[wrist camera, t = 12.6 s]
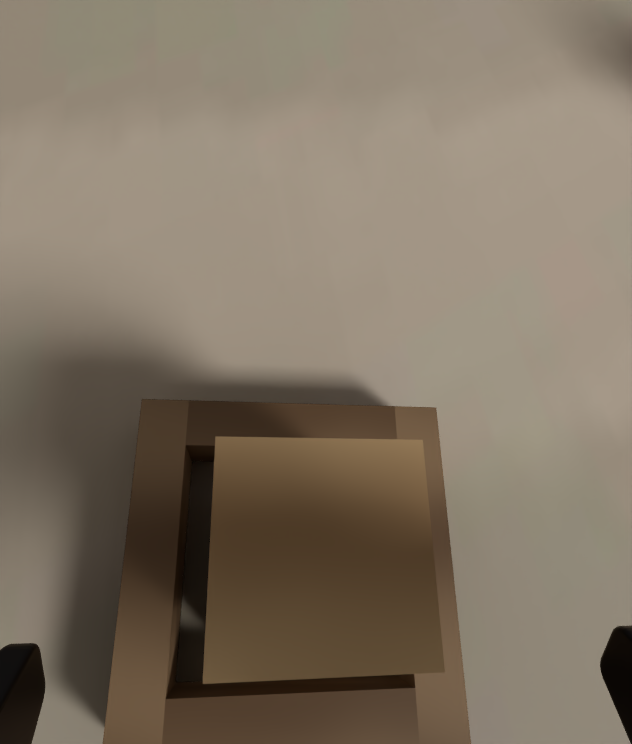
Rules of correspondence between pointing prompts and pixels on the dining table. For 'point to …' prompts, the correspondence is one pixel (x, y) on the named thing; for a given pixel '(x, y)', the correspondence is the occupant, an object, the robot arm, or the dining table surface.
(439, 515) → the walnut holder
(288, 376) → the dining table surface
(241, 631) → the oak block
